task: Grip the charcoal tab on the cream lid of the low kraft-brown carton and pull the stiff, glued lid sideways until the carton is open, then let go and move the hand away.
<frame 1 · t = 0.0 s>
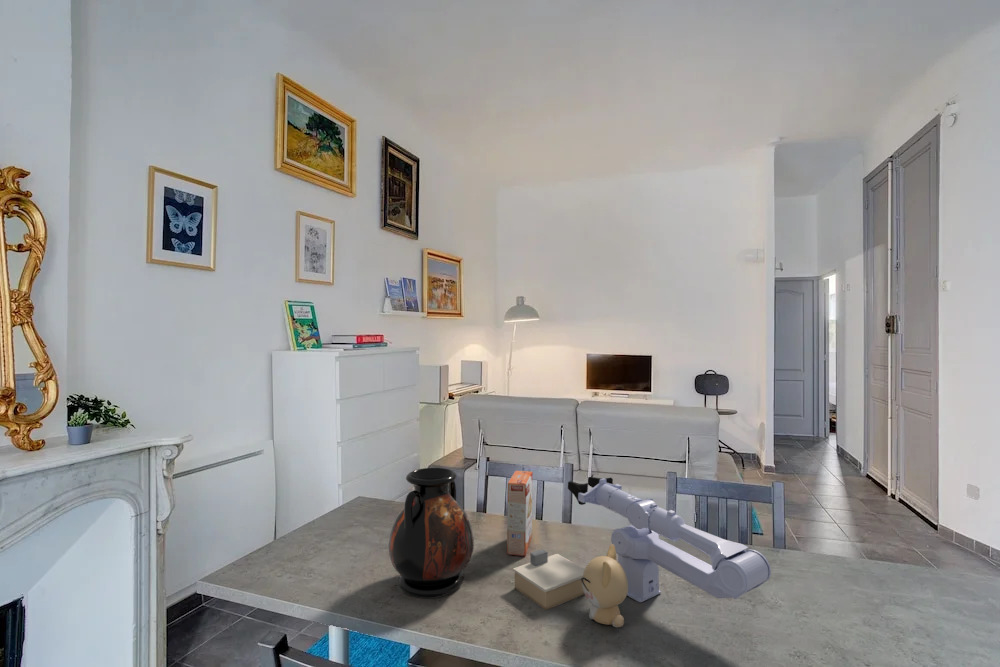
hand: (578, 482, 136), 22 cm above the table, tool horizontal, fingers open, 7 cm apart
kitten: (605, 619, 108), on the table
amphora vase: (431, 584, 123), on the table
carton: (551, 590, 120), on the table
carton lid: (551, 566, 120), point 6 cm above the table, slide at 0.0 cm
cracker box: (520, 546, 146), on the table
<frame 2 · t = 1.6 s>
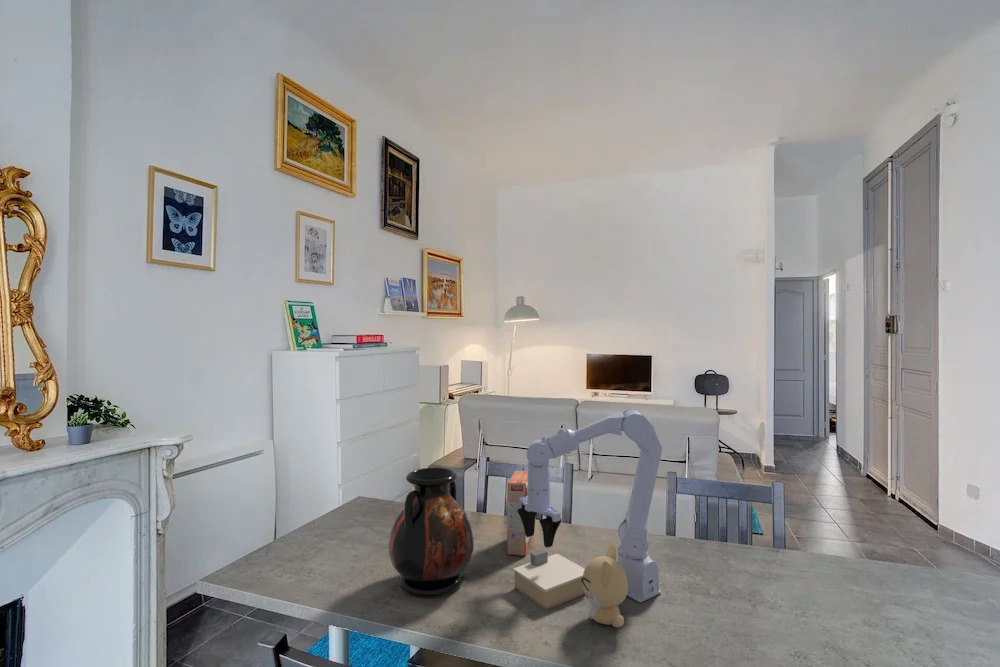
hand: (538, 541, 124), 10 cm above the table, tool pointing down, fingers open, 7 cm apart
nothing on the table moved.
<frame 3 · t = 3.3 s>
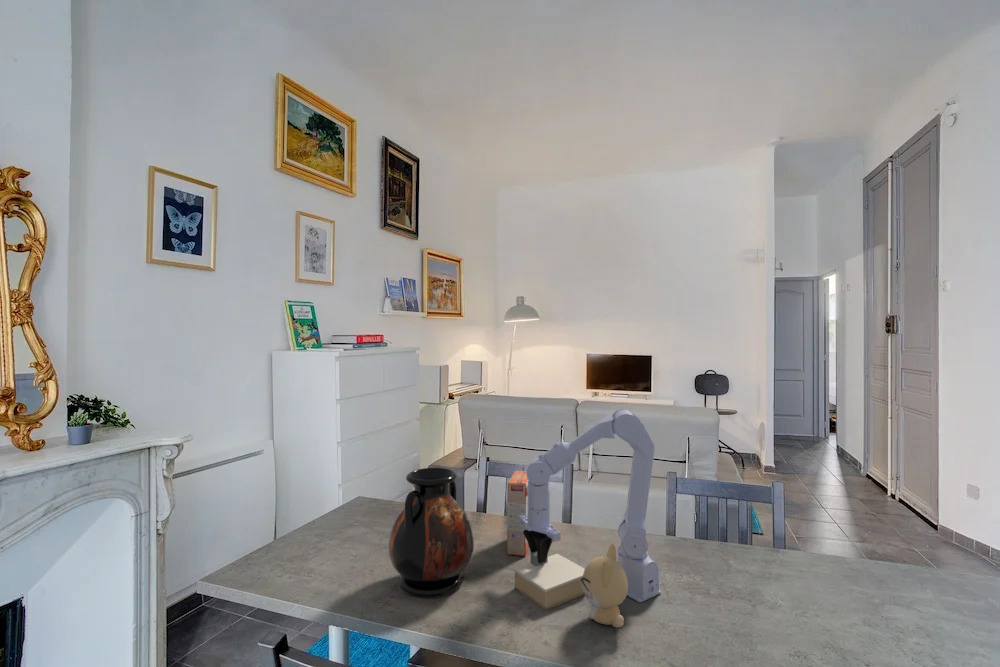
hand: (539, 559, 124), 6 cm above the table, tool pointing down, fingers closed on carton lid, 2 cm apart
carton lid: (551, 566, 120), point 6 cm above the table, slide at 0.0 cm, touching gripper
everything else where it was.
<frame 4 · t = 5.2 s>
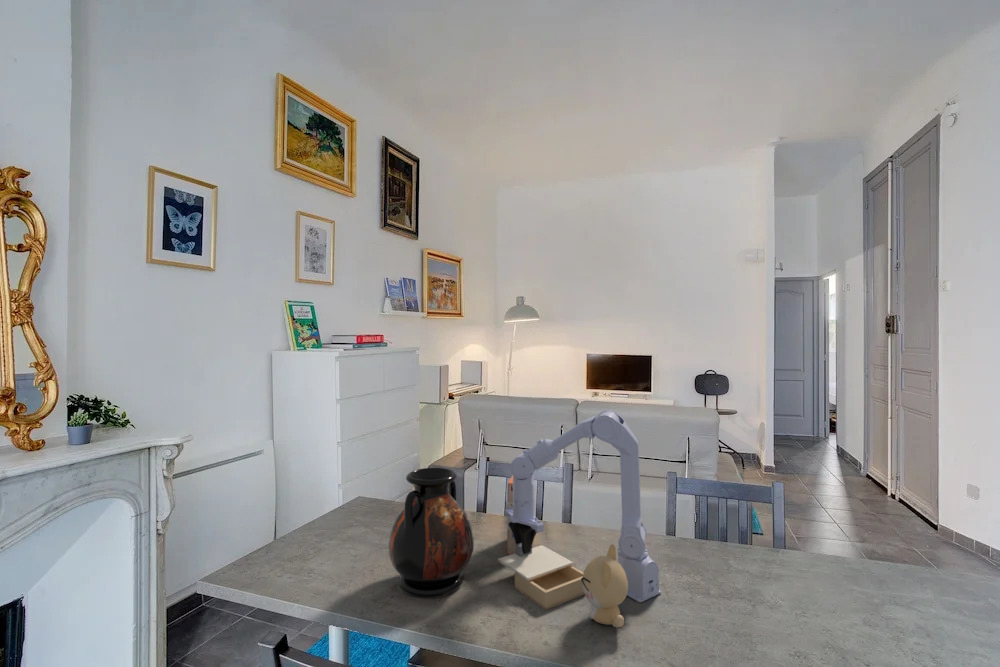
hand: (523, 550, 129), 6 cm above the table, tool pointing down, fingers closed on carton lid, 2 cm apart
carton lid: (535, 556, 125), point 6 cm above the table, slide at 6.5 cm, touching gripper
everything else where it was.
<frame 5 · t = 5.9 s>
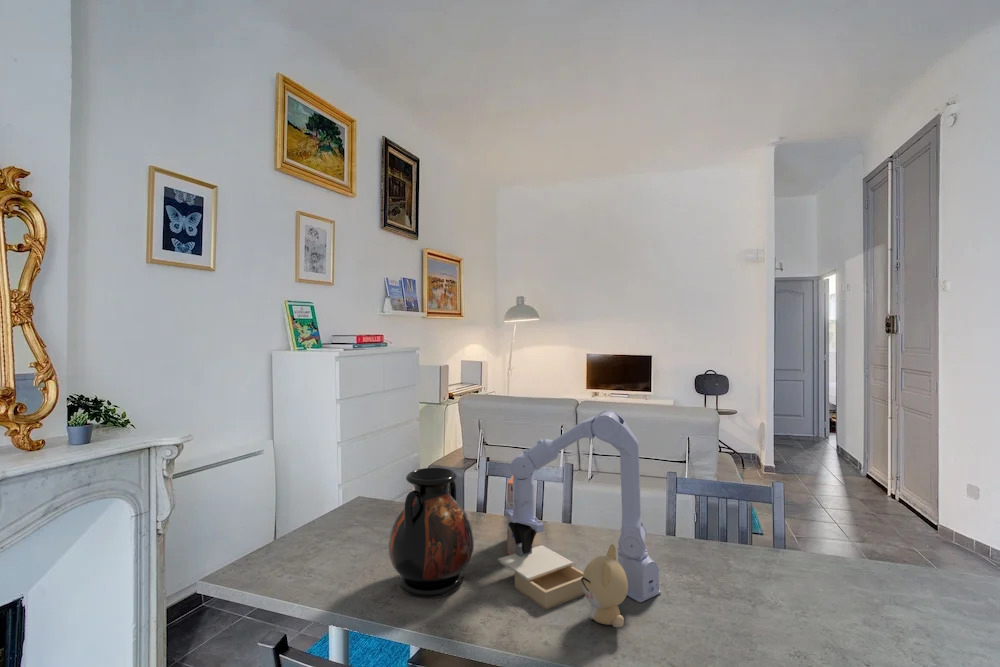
hand: (523, 550, 129), 6 cm above the table, tool pointing down, fingers closed on carton lid, 2 cm apart
carton lid: (535, 556, 125), point 6 cm above the table, slide at 6.5 cm, touching gripper
everything else where it was.
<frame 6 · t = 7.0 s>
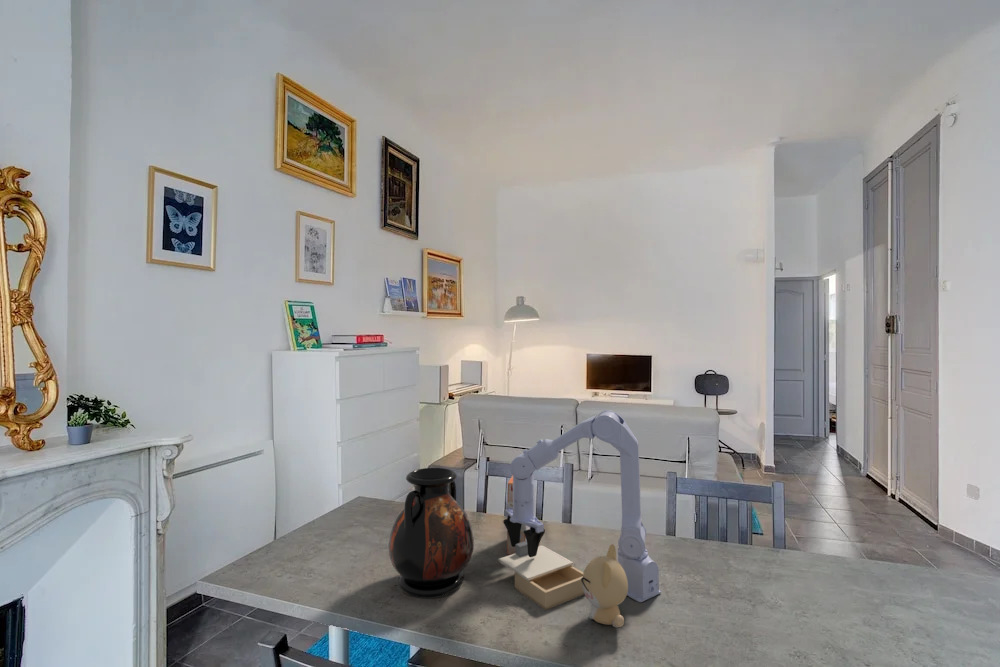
hand: (523, 550, 129), 6 cm above the table, tool pointing down, fingers open, 7 cm apart
carton lid: (535, 556, 125), point 6 cm above the table, slide at 6.5 cm
everything else where it was.
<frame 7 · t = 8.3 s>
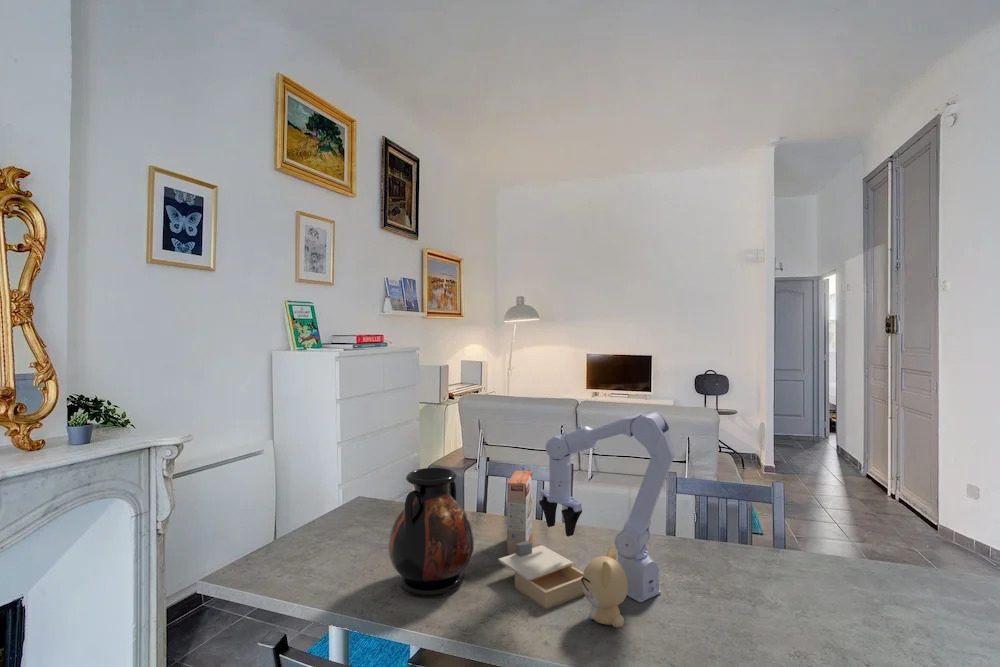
hand: (560, 530, 131), 10 cm above the table, tool pointing down, fingers open, 7 cm apart
nothing on the table moved.
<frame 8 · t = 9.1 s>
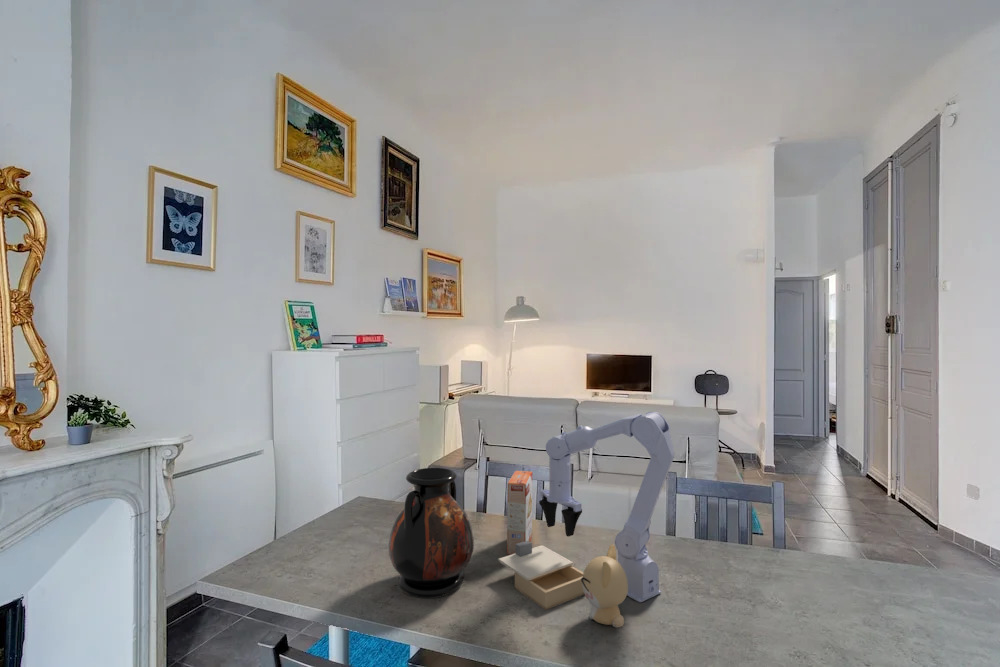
hand: (560, 530, 131), 10 cm above the table, tool pointing down, fingers open, 7 cm apart
nothing on the table moved.
at the end: carton lid slide at 6.5 cm; the gripper is holding nothing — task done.
